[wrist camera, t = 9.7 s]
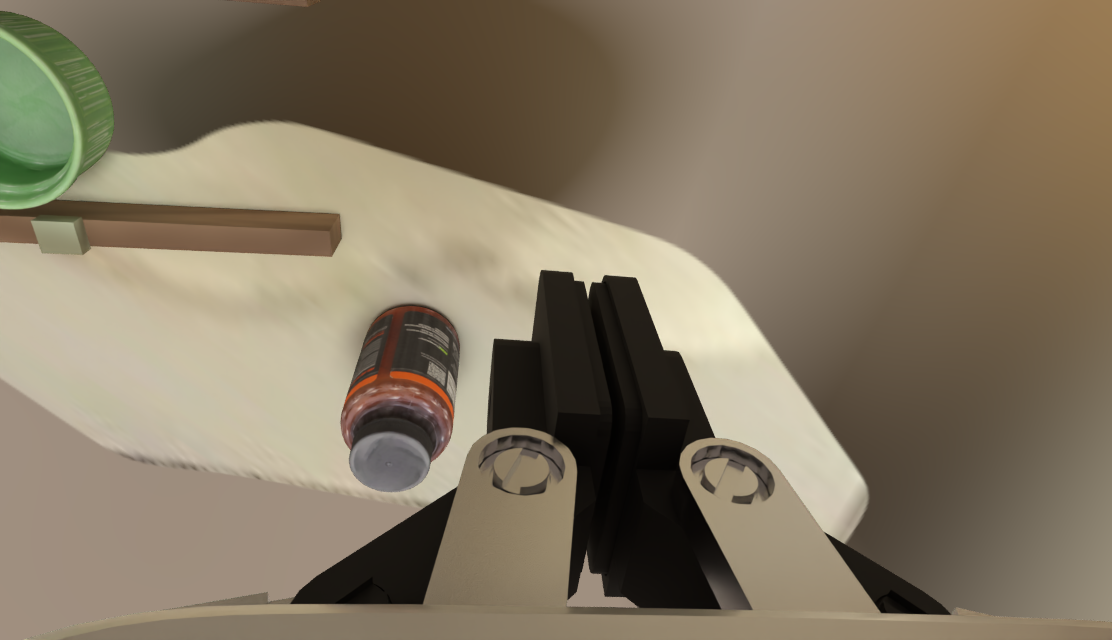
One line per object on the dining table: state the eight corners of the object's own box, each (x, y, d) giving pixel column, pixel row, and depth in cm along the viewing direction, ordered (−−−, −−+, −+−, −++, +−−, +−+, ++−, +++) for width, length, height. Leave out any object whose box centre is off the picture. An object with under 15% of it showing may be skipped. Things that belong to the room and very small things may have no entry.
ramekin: (38, -34, 31) (-26, -30, 27) (165, 143, 35) (124, 168, 32) (-114, 43, 32) (-197, 58, 28) (26, 205, 37) (-29, 237, 33)
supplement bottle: (360, 370, 43) (318, 497, 33) (375, 292, 40) (333, 406, 31) (450, 388, 44) (435, 516, 35) (470, 313, 42) (460, 429, 32)
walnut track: (-156, -77, 30) (-227, -78, 27) (317, -37, 32) (298, -34, 29) (-39, 223, 37) (-84, 247, 34) (341, 240, 39) (328, 265, 36)
